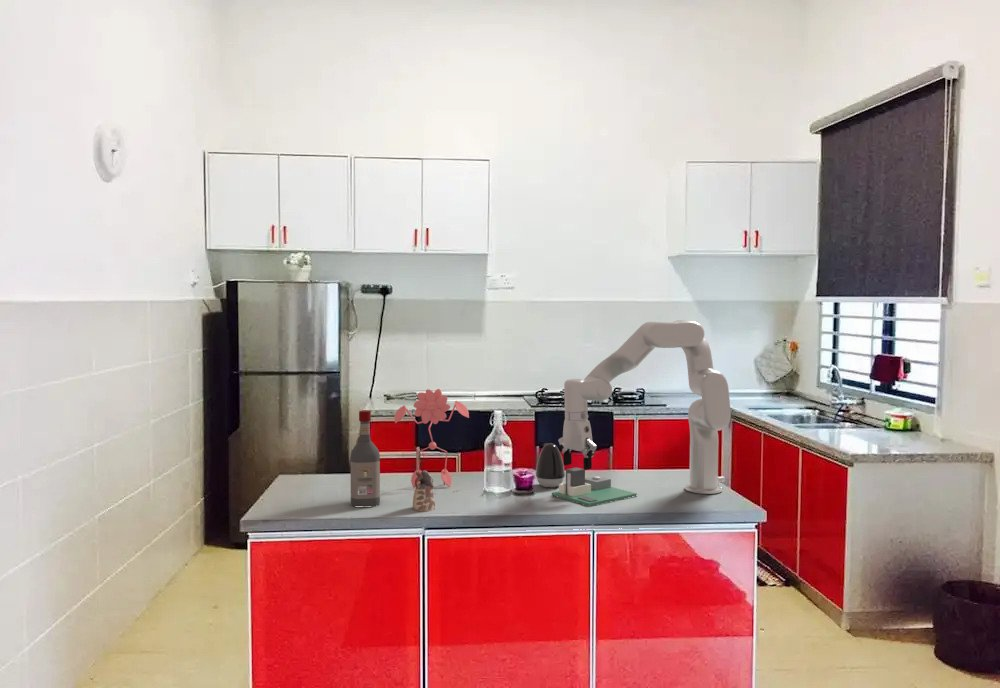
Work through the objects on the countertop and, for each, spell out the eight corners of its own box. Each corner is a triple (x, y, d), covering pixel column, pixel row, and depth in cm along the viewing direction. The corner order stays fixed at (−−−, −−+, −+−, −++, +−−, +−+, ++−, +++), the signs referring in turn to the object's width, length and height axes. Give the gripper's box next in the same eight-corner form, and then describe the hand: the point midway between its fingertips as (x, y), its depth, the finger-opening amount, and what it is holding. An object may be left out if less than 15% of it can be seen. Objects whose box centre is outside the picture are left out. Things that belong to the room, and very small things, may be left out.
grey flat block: (596, 483, 283) (596, 474, 283) (610, 487, 278) (610, 477, 278) (582, 486, 279) (582, 476, 279) (596, 490, 274) (596, 480, 273)
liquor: (380, 507, 254) (379, 412, 253) (350, 508, 253) (350, 413, 251) (379, 500, 263) (379, 408, 262) (351, 501, 262) (350, 409, 260)
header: (576, 489, 275) (576, 480, 275) (591, 493, 269) (591, 484, 269) (559, 492, 270) (559, 483, 270) (573, 496, 264) (573, 487, 264)
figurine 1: (394, 484, 285) (394, 386, 282) (467, 483, 287) (467, 386, 285) (393, 496, 269) (393, 392, 267) (470, 494, 272) (470, 392, 269)
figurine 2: (437, 510, 250) (437, 472, 250) (415, 512, 248) (414, 473, 248) (432, 504, 257) (432, 467, 257) (410, 506, 255) (410, 469, 255)
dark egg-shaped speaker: (557, 481, 291) (558, 440, 290) (569, 488, 281) (569, 445, 280) (531, 483, 287) (531, 441, 287) (541, 490, 278) (542, 446, 277)
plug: (576, 490, 273) (576, 467, 272) (584, 493, 269) (585, 469, 269) (564, 493, 269) (564, 469, 269) (572, 495, 266) (572, 471, 266)
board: (598, 486, 283) (598, 479, 283) (636, 496, 269) (636, 488, 269) (551, 495, 270) (551, 487, 270) (589, 506, 256) (589, 498, 256)
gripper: (602, 417, 264) (604, 469, 265) (566, 412, 277) (568, 461, 278) (586, 420, 259) (587, 472, 260) (550, 415, 273) (551, 464, 274)
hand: (577, 466), depth 269 cm, fingers open, 9 cm apart
